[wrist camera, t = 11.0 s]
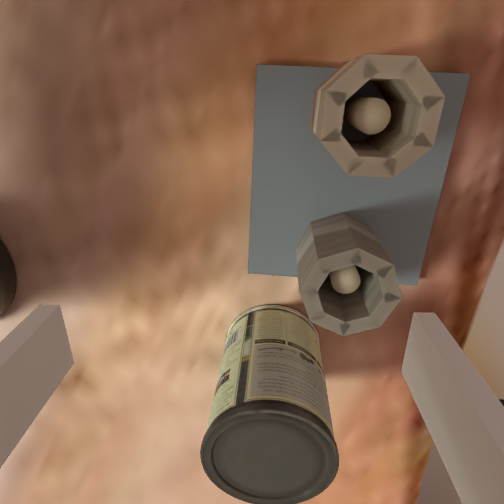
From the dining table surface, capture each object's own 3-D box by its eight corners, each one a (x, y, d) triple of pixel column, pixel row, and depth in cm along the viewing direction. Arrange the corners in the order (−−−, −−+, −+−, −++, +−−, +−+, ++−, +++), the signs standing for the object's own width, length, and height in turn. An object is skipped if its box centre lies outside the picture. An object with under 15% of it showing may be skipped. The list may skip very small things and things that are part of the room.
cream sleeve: (308, 153, 31) (316, 173, 24) (317, 61, 28) (329, 52, 21) (391, 158, 31) (425, 180, 23) (409, 65, 28) (454, 57, 21)
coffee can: (313, 385, 42) (326, 515, 30) (223, 374, 43) (198, 498, 30) (328, 309, 38) (351, 421, 25) (228, 297, 39) (201, 402, 26)
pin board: (248, 267, 37) (241, 306, 30) (257, 65, 30) (250, 58, 23) (413, 279, 36) (442, 322, 30) (463, 74, 29) (517, 70, 22)
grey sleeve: (310, 291, 36) (317, 342, 29) (289, 228, 34) (290, 267, 26) (381, 271, 35) (407, 320, 27) (363, 205, 32) (387, 239, 25)
